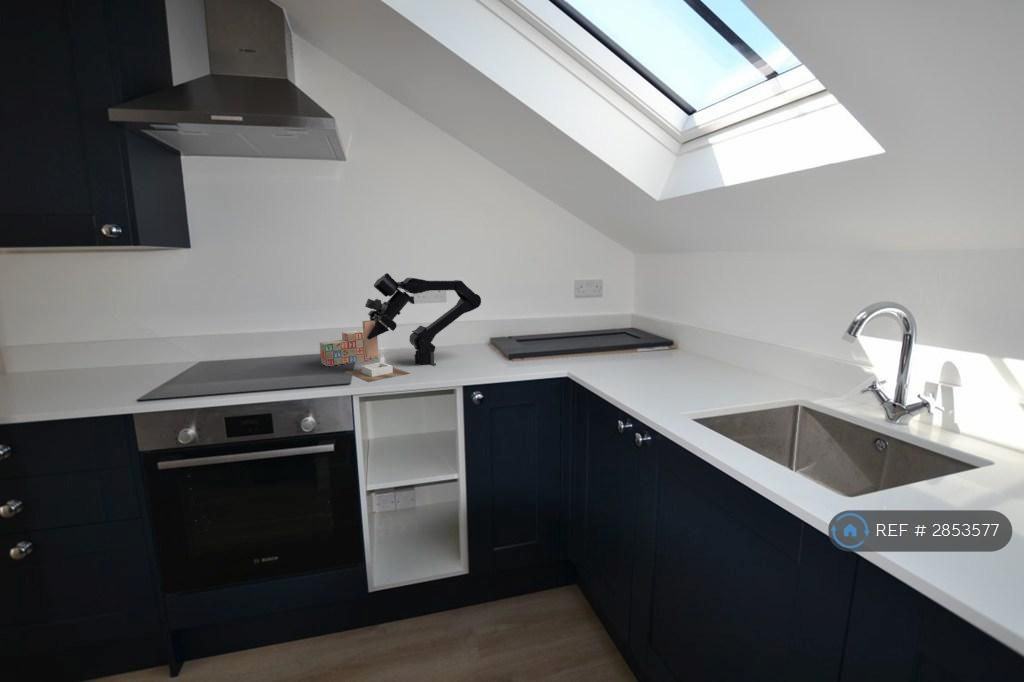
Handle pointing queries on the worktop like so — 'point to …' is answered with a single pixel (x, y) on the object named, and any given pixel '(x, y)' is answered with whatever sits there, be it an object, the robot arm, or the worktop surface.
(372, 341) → the terracotta pillar
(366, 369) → the white square frame
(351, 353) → the stack of blocks
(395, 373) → the walnut board
